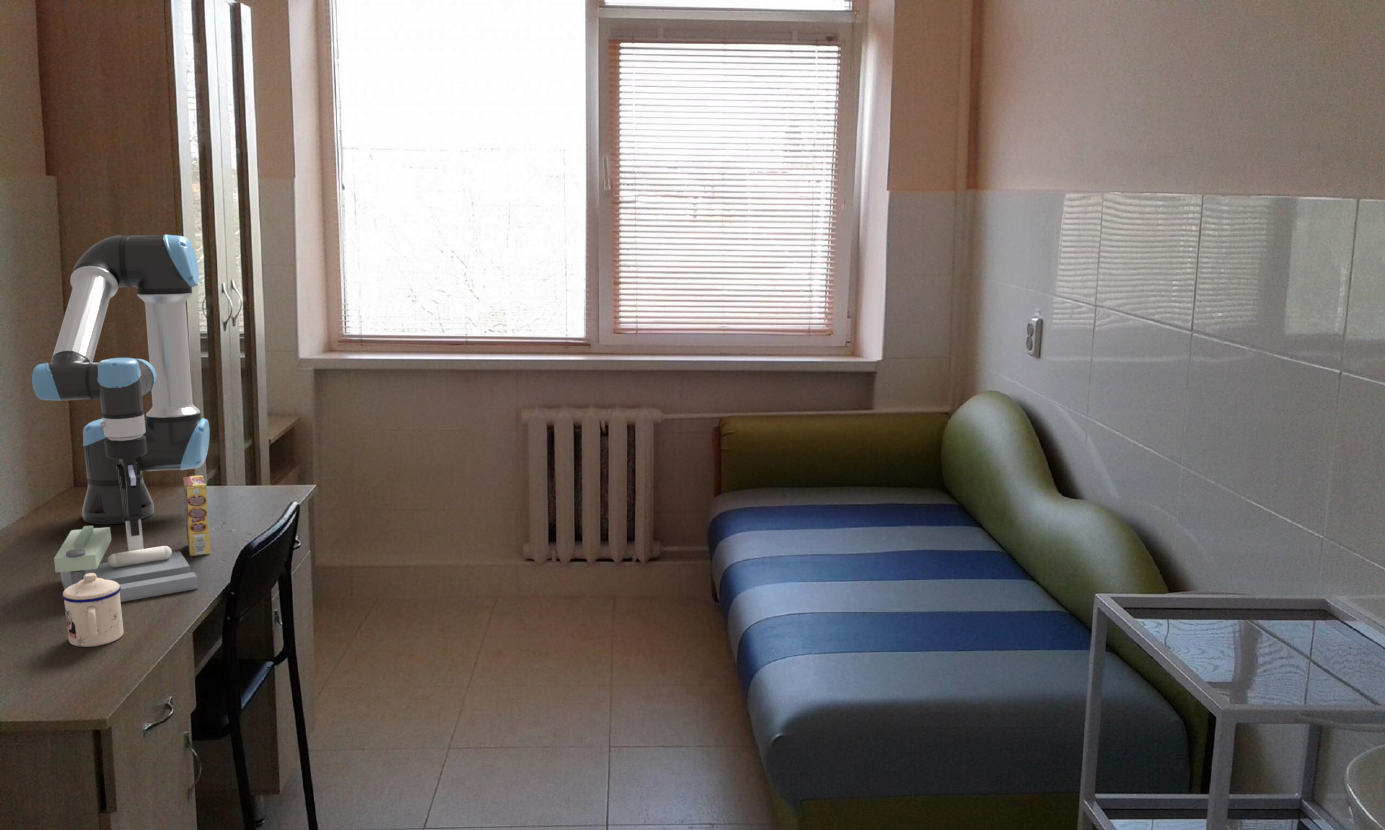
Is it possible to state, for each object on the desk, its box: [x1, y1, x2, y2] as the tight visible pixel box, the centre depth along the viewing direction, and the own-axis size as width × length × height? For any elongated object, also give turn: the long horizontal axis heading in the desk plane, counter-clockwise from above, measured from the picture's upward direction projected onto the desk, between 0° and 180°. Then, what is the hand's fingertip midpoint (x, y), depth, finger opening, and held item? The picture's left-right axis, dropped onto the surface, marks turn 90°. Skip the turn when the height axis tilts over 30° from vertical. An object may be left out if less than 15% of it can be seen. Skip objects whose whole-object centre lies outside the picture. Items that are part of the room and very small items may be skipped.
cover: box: [53, 525, 112, 574], centre depth 233 cm, size 19×7×4 cm, turn 18°
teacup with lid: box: [61, 573, 124, 648], centre depth 207 cm, size 12×9×12 cm
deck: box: [60, 550, 199, 603], centre depth 234 cm, size 18×22×6 cm
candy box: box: [182, 475, 211, 557], centre depth 255 cm, size 9×4×15 cm, turn 26°
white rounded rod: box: [107, 545, 173, 568], centre depth 240 cm, size 3×12×3 cm, turn 123°
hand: (135, 549), depth 244 cm, fingers closed
